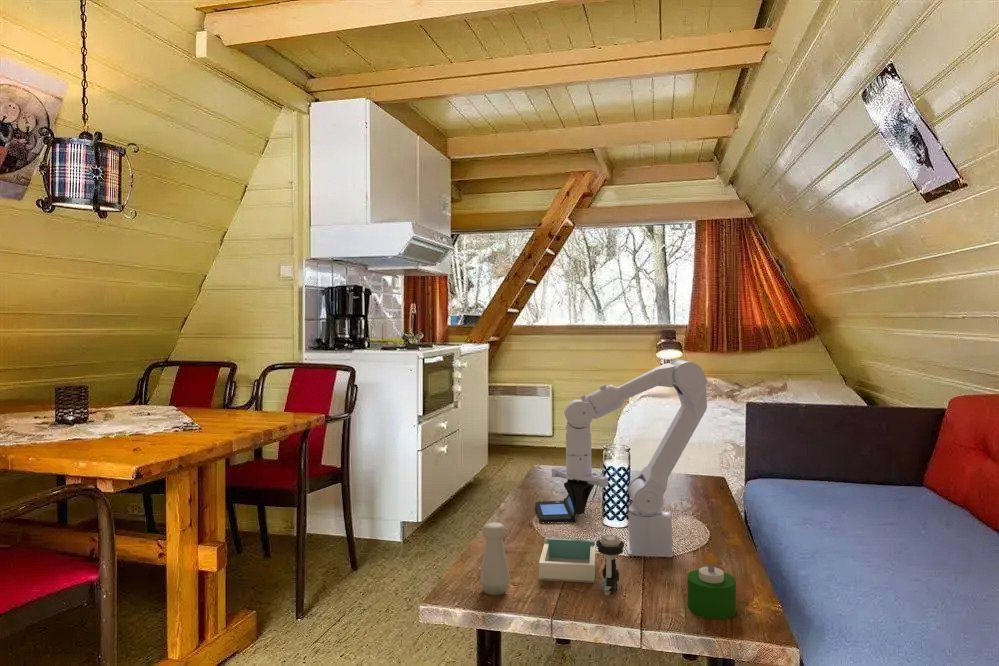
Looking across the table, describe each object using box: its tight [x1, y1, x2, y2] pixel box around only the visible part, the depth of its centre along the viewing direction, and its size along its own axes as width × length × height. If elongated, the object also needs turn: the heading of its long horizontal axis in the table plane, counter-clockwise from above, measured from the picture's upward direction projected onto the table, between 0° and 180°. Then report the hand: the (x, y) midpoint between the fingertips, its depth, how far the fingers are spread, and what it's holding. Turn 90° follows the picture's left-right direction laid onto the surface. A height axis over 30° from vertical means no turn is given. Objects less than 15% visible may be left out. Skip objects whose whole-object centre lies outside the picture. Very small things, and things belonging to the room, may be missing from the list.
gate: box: [543, 537, 596, 560], centre depth 137 cm, size 11×1×4 cm, turn 78°
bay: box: [538, 543, 597, 584], centre depth 131 cm, size 11×11×4 cm
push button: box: [595, 534, 625, 596], centre depth 121 cm, size 7×5×10 cm
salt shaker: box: [479, 522, 511, 596], centre depth 122 cm, size 6×6×13 cm
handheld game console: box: [534, 493, 578, 524], centre depth 169 cm, size 16×13×9 cm
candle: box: [686, 552, 737, 620], centre depth 113 cm, size 8×8×10 cm
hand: (579, 513), depth 142 cm, fingers closed
